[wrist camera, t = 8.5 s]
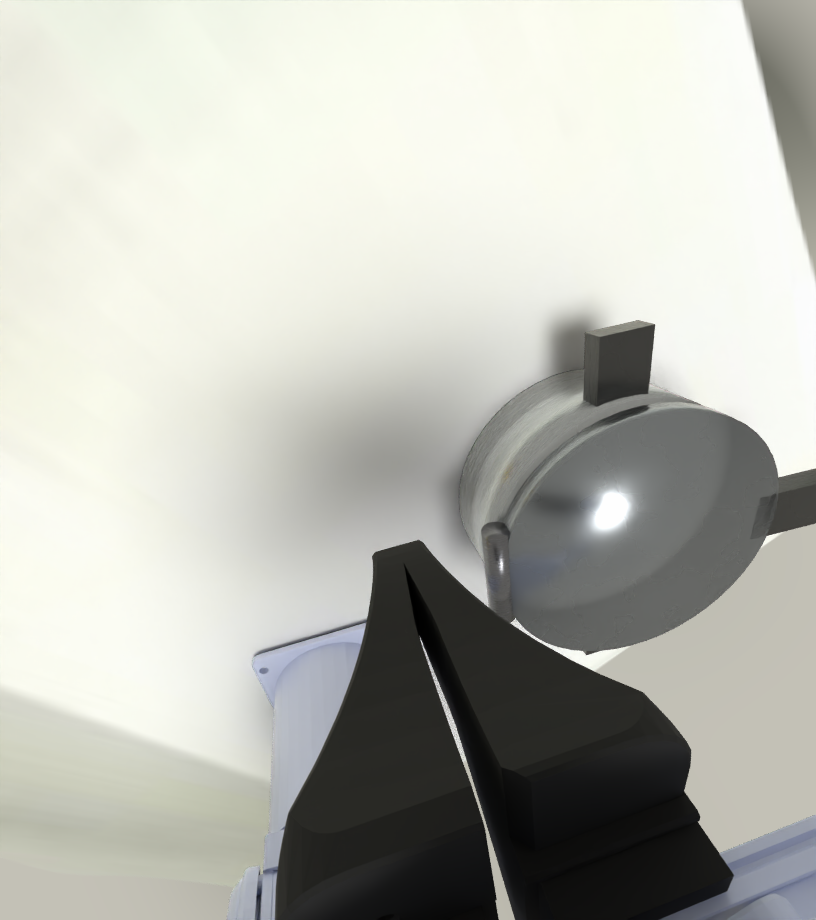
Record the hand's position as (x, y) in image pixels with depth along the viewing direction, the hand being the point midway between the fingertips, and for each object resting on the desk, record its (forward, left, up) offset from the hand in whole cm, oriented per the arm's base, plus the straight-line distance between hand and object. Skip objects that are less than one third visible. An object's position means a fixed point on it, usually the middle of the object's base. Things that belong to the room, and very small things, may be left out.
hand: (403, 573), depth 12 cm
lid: (-6, -12, -5) cm, 15 cm away
